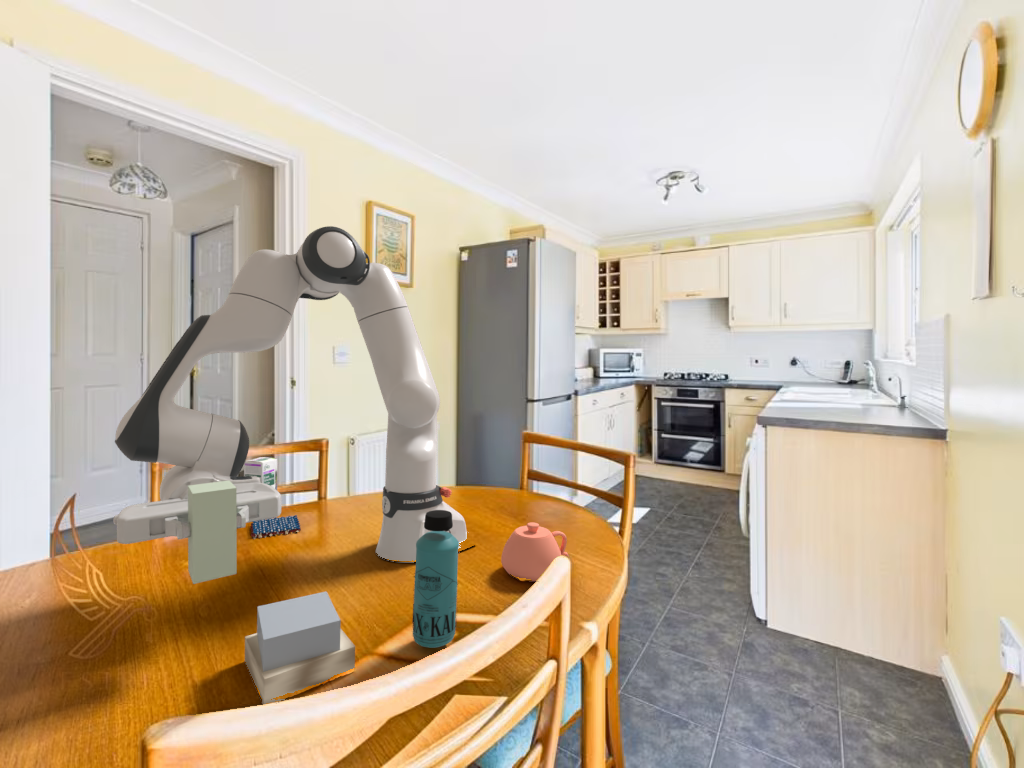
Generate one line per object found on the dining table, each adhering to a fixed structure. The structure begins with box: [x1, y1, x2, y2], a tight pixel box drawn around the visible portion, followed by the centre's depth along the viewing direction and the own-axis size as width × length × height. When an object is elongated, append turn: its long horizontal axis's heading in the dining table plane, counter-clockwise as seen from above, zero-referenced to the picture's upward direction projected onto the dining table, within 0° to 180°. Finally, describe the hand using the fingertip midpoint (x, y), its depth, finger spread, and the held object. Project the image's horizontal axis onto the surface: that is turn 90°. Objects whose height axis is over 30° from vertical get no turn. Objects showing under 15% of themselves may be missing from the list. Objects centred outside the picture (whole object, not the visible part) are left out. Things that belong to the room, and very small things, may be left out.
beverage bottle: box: [411, 510, 459, 649], centre depth 69 cm, size 6×7×20 cm
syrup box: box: [243, 456, 278, 491], centre depth 126 cm, size 6×6×14 cm
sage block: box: [187, 480, 238, 585], centre depth 65 cm, size 5×5×12 cm
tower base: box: [244, 627, 356, 705], centre depth 64 cm, size 11×11×4 cm
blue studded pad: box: [249, 514, 302, 540], centre depth 114 cm, size 10×11×2 cm
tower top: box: [256, 591, 342, 672], centre depth 63 cm, size 9×9×4 cm
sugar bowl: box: [500, 522, 570, 582], centre depth 95 cm, size 12×14×10 cm
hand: (213, 527), depth 64 cm, fingers closed on sage block, 5 cm apart
